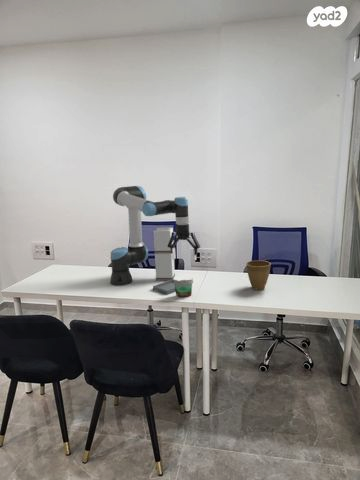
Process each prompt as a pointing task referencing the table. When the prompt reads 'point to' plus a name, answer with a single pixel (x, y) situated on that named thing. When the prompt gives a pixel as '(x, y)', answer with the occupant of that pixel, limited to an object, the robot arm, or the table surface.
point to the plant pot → (258, 273)
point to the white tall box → (163, 254)
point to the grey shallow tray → (165, 287)
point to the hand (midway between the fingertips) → (184, 259)
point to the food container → (183, 288)
